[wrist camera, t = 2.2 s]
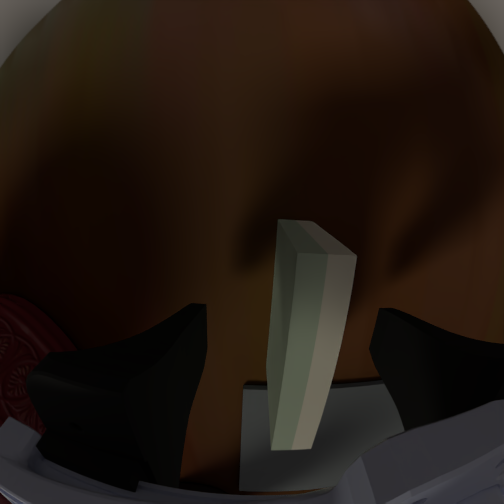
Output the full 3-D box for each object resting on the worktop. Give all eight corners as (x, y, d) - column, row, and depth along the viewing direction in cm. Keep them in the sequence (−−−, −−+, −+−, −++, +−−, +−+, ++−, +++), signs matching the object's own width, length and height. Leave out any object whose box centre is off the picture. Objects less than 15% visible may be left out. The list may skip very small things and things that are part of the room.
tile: (312, 221, 13) (357, 255, 7) (294, 365, 15) (310, 448, 9) (277, 219, 13) (297, 252, 7) (266, 364, 15) (271, 450, 9)
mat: (477, 361, 15) (480, 364, 15) (414, 465, 19) (416, 467, 18) (243, 384, 15) (243, 389, 15) (239, 487, 19) (238, 490, 18)
